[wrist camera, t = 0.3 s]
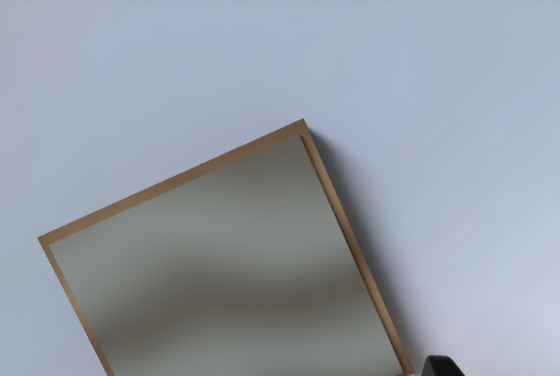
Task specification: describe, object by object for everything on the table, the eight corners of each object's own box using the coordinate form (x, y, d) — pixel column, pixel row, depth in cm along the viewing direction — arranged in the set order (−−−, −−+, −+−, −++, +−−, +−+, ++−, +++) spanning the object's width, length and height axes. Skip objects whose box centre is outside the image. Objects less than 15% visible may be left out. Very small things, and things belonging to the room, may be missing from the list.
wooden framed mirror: (398, 348, 24) (417, 377, 21) (174, 448, 24) (161, 490, 21) (298, 121, 23) (304, 117, 20) (63, 227, 23) (32, 239, 20)
